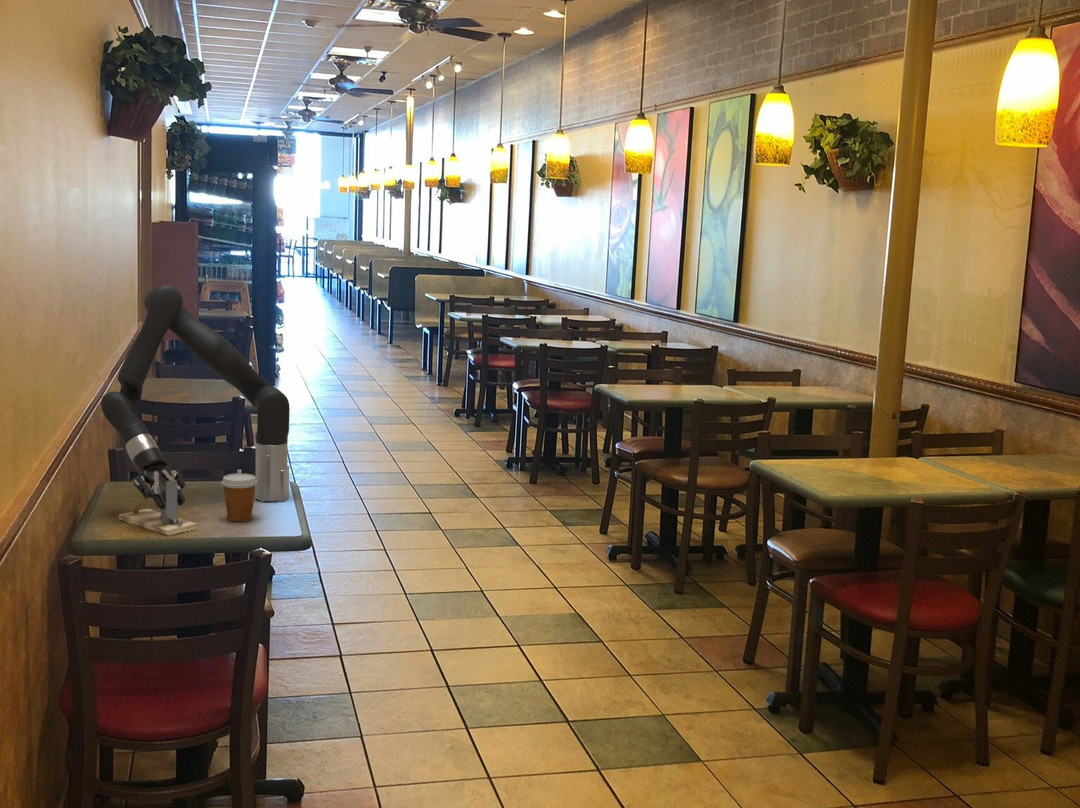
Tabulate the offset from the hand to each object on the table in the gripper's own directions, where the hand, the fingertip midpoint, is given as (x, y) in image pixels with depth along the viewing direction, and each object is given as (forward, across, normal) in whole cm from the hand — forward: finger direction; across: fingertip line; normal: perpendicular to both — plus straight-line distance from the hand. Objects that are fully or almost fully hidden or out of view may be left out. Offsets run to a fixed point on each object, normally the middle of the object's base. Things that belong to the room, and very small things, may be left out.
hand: (173, 505), depth 282 cm
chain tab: (+3, 0, +4) cm, 5 cm away
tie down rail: (0, 0, +10) cm, 10 cm away
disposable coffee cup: (+8, +19, +2) cm, 20 cm away
